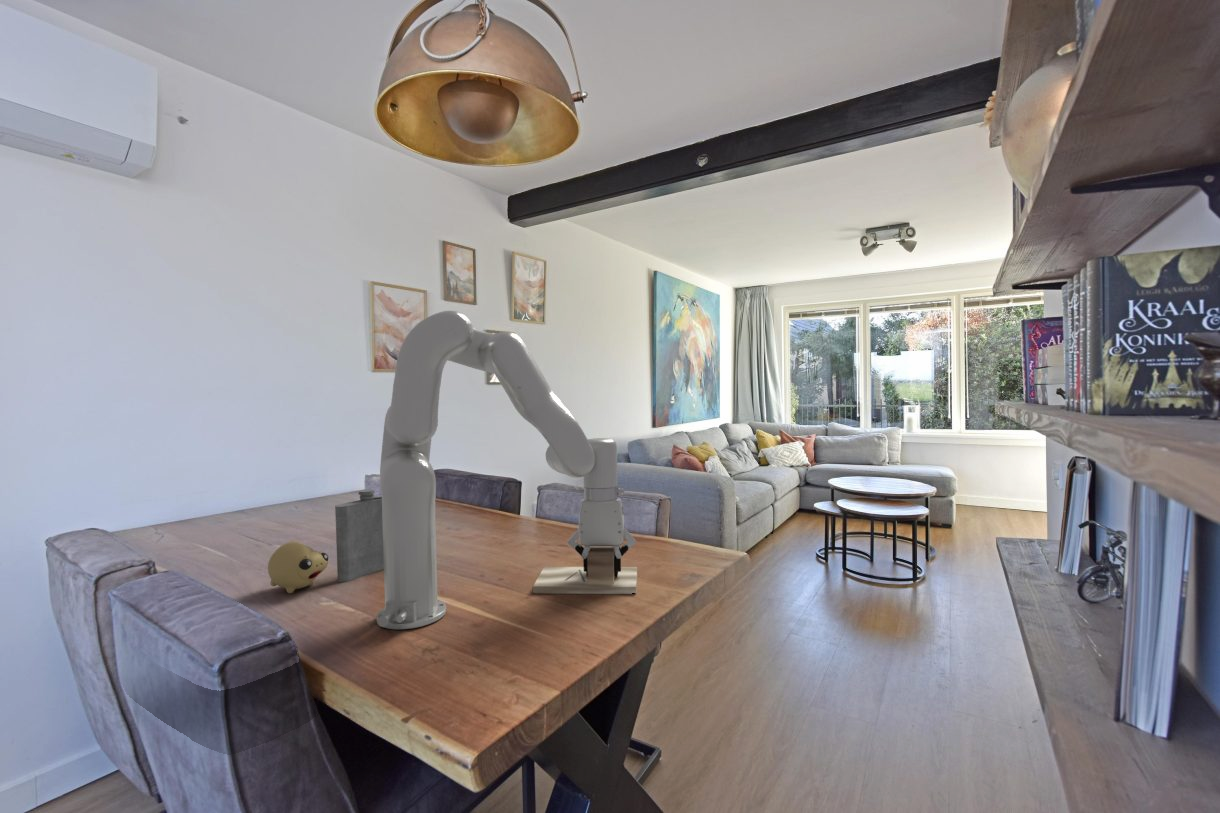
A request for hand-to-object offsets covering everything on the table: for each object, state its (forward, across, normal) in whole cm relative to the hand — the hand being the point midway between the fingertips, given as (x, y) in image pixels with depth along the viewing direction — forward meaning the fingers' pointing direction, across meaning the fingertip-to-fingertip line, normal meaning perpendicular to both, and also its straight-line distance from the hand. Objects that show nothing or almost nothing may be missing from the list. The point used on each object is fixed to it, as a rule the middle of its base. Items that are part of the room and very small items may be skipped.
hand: (602, 573), depth 122 cm
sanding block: (0, 0, 0) cm, 1 cm away
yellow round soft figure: (+2, +67, +5) cm, 68 cm away
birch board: (+2, +3, 0) cm, 4 cm away
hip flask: (+2, +57, -7) cm, 58 cm away
